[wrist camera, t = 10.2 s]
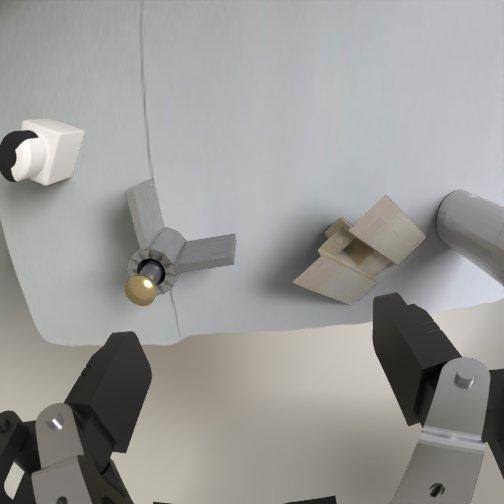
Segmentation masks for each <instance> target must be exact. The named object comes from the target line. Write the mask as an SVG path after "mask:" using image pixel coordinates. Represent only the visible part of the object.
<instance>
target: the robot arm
mask: <svg viewBox="0 0 504 504" xmlns="http://www.w3.org/2000/svg"><path fill="white" fill-rule="evenodd" d="M436 225H437V231H438V234H439V236H440V238H441V239H442V241H443V242H445V243H446V244H447V245H449V246H450V247H452V248H453V249H455V250H456V251H457V252H459V253H460V254H461V255H463V256H464V257H466V258H467V259H468V260H470V261H471V262H472V263H474V264H475V265H477V266H478V267H479V268H481V269H482V270H483V271H485V272H486V273H487V274H489V275H490V276H491V277H492V278H494V279H495V280H496V281H498V282H499V283H500V284H502V285H503V286H504V207H503V206H500V205H498V204H496V203H493V202H491V201H489V200H486V199H484V198H481V197H479V196H477V195H474V194H472V193H469V192H466V191H463V190H459V191H455V192H452V193H451V194H449V195H448V196H447V197H446V198H445V199H444V201H443V202H442V204H441V206H440V208H439V210H438V214H437V220H436ZM373 345H374V349H375V353H376V355H377V357H378V359H379V361H380V363H381V366H382V368H383V370H384V372H385V374H386V376H387V378H388V381H389V383H390V385H391V387H392V390H393V392H394V394H395V396H396V398H397V401H398V403H399V406H400V408H401V410H402V412H403V415H404V417H405V419H406V422H407V424H408V426H411V425H414V424H417V423H421V426H422V428H423V430H422V432H421V435H420V437H419V440H418V442H417V445H416V447H415V450H414V452H413V454H412V457H411V459H410V461H409V464H408V466H407V469H406V470H405V473H404V475H403V477H402V479H401V481H400V484H399V485H398V487H397V489H396V491H395V493H394V495H393V497H392V499H391V501H390V503H389V504H470V502H471V499H472V496H473V493H474V490H475V486H476V483H477V480H478V476H479V472H480V468H481V464H482V460H483V456H484V451H485V442H488V444H489V446H490V448H491V451H492V453H493V455H494V457H495V460H496V462H497V464H498V467H499V469H500V471H501V474H502V476H503V479H504V369H497V370H488V369H487V367H486V366H485V365H484V364H483V363H481V362H480V361H478V360H475V359H473V358H466V357H462V356H461V355H460V354H459V352H458V351H457V350H456V348H455V347H454V346H453V344H452V343H451V342H450V340H449V339H448V338H447V337H446V335H445V334H444V333H443V331H441V330H440V328H439V326H438V325H437V324H436V323H435V322H434V320H433V319H432V318H431V316H430V315H429V314H428V313H427V311H426V310H424V309H422V308H420V307H418V306H417V305H415V304H411V305H407V304H406V303H405V301H404V300H403V299H402V298H401V296H400V295H399V294H398V293H391V294H386V295H382V296H377V297H375V298H374V302H373ZM151 379H152V373H151V368H150V364H149V362H148V360H147V358H146V356H145V354H144V352H143V349H142V347H141V345H140V342H139V340H138V338H137V336H136V334H135V333H134V332H132V331H129V332H117V333H112V334H111V335H110V337H109V338H108V340H107V342H106V343H105V345H104V346H103V347H102V348H101V349H99V350H98V351H97V352H96V353H95V354H94V355H93V356H92V357H91V359H90V360H89V362H88V363H87V365H86V368H84V370H83V371H82V373H81V376H79V378H78V380H77V381H76V383H75V385H74V386H73V388H72V390H71V391H70V393H69V395H68V397H67V398H66V400H65V402H64V403H56V404H53V405H51V406H48V407H47V408H45V409H44V410H43V411H42V412H41V413H40V414H39V416H38V418H37V420H36V421H29V422H22V421H21V419H20V418H19V417H18V415H17V414H16V413H15V412H13V411H4V412H2V413H0V504H134V503H133V501H132V500H131V497H130V495H129V494H128V491H127V489H126V488H125V486H124V483H123V481H122V479H121V477H120V475H119V473H118V470H117V468H116V466H115V464H114V462H113V460H112V459H111V458H110V456H111V454H112V452H119V453H126V451H127V448H128V446H129V442H130V440H131V437H132V434H133V431H134V428H135V425H136V422H137V419H138V417H139V414H140V410H141V408H142V405H143V403H144V400H145V397H146V394H147V391H148V389H149V386H150V383H151ZM13 462H15V463H16V464H17V465H18V466H19V467H20V468H21V469H22V470H23V471H24V475H23V477H22V479H21V482H20V484H19V487H18V489H17V492H16V494H15V496H14V499H13V500H12V499H11V498H10V497H9V496H8V495H7V494H6V492H5V489H4V482H5V480H6V477H7V475H8V473H9V471H10V468H11V466H12V464H13ZM153 504H169V503H158V502H153ZM285 504H337V503H336V498H335V496H330V497H324V498H319V499H312V500H305V501H297V502H289V503H285Z"/></svg>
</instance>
